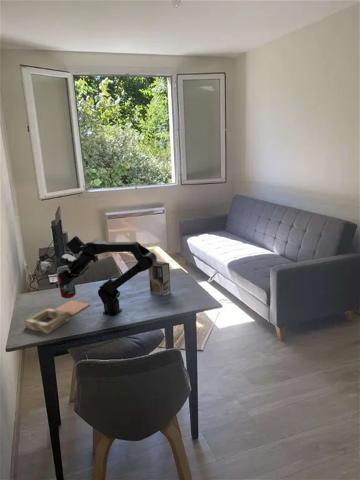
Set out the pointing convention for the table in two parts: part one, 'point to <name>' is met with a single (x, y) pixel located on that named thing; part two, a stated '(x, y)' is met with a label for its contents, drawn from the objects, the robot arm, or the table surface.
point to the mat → (72, 307)
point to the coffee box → (159, 278)
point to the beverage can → (67, 289)
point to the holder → (57, 316)
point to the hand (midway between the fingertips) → (64, 283)
